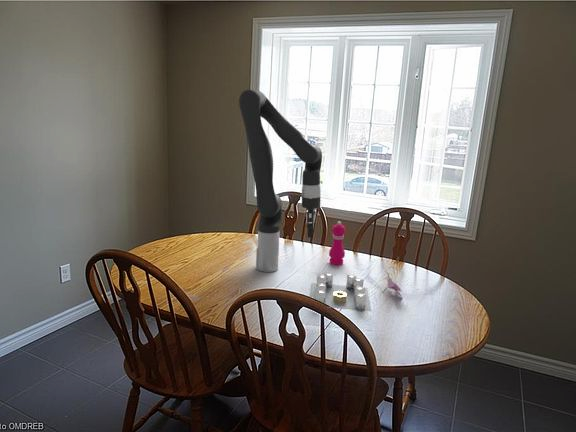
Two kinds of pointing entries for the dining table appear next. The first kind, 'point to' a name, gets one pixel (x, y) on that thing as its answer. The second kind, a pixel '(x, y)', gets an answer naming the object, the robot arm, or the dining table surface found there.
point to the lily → (392, 285)
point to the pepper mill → (337, 245)
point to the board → (346, 305)
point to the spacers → (351, 284)
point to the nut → (339, 297)
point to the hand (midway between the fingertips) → (310, 234)
